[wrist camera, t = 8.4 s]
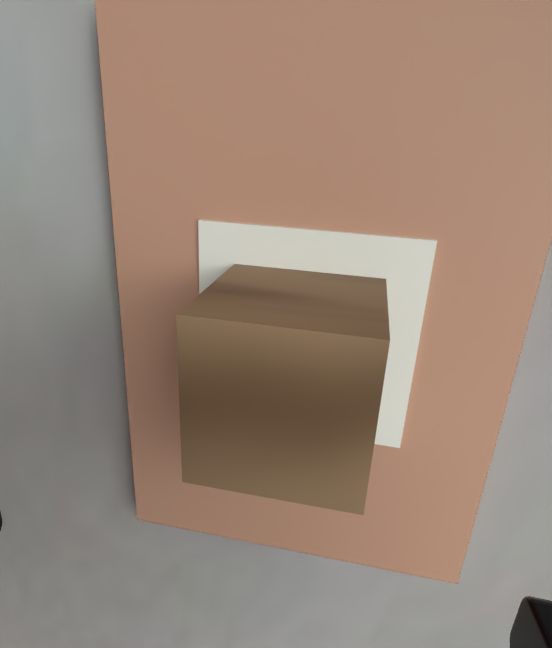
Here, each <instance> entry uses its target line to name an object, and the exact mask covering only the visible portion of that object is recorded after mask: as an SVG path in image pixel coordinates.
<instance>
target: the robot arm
mask: <svg viewBox="0 0 552 648" xmlns="http://www.w3.org/2000/svg"><path fill="white" fill-rule="evenodd" d="M1 527H2V516H1V512H0V530H1ZM510 648H552V601H550V600H545V599H540V598H535V597H530V596H527V597H525V598H524V599H523V600H522V602H521V604H520V607H519V610H518V613H517V615H516V618H515V621H514V624H513V627H512V630H511V633H510Z"/></svg>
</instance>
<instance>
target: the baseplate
mask: <svg viewBox="0 0 552 648" xmlns="http://www.w3.org/2000/svg"><path fill="white" fill-rule="evenodd" d="M95 9H96V21H97V33H98V46H99V58H100V70H101V83H102V95H103V107H104V119H105V132H106V144H107V156H108V168H109V181H110V193H111V205H112V217H113V230H114V242H115V254H116V266H117V279H118V291H119V303H120V315H121V328H122V340H123V352H124V365H125V377H126V389H127V401H128V414H129V426H130V438H131V450H132V463H133V475H134V487H135V499H136V512H137V519H138V520H143V521H148V522H153V523H158V524H163V525H168V526H173V527H178V528H183V529H188V530H193V531H198V532H202V533H207V534H212V535H217V536H222V537H227V538H232V539H237V540H242V541H247V542H252V543H257V544H262V545H267V546H272V547H277V548H282V549H287V550H292V551H297V552H302V553H306V554H311V555H316V556H321V557H326V558H331V559H336V560H341V561H346V562H351V563H356V564H361V565H366V566H371V567H376V568H381V569H386V570H391V571H396V572H401V573H406V574H410V575H415V576H420V577H425V578H430V579H435V580H440V581H445V582H450V583H455V584H458V581H459V577H460V573H461V570H462V566H463V562H464V559H465V555H466V551H467V548H468V544H469V540H470V537H471V533H472V529H473V526H474V522H475V518H476V515H477V511H478V507H479V504H480V500H481V496H482V492H483V489H484V485H485V481H486V478H487V474H488V470H489V467H490V463H491V459H492V456H493V452H494V448H495V445H496V441H497V437H498V434H499V430H500V426H501V423H502V419H503V415H504V412H505V408H506V404H507V401H508V397H509V393H510V390H511V386H512V382H513V379H514V375H515V371H516V368H517V364H518V360H519V357H520V353H521V349H522V345H523V342H524V338H525V334H526V331H527V327H528V323H529V320H530V316H531V312H532V309H533V305H534V301H535V298H536V294H537V290H538V287H539V283H540V279H541V276H542V272H543V268H544V265H545V261H546V257H547V254H548V250H549V246H550V243H551V239H552V0H95ZM234 264H242V265H252V266H262V267H272V268H282V269H292V270H302V271H312V272H322V273H332V274H343V275H353V276H363V277H373V278H383V279H386V285H387V300H388V315H389V331H390V344H389V351H388V358H387V364H386V371H385V377H384V384H383V390H382V397H381V404H380V410H379V417H378V423H377V430H376V436H375V443H374V449H373V456H372V463H371V469H370V476H369V482H368V489H367V495H366V502H365V508H364V515H359V514H353V513H348V512H342V511H337V510H332V509H326V508H321V507H315V506H310V505H304V504H299V503H293V502H288V501H282V500H277V499H272V498H266V497H261V496H255V495H250V494H244V493H239V492H233V491H228V490H222V489H217V488H212V487H206V486H201V485H195V484H190V483H184V482H182V467H181V438H180V410H179V381H178V353H177V324H176V314H177V313H178V312H180V311H181V310H182V309H183V308H184V307H185V306H186V305H188V304H189V303H190V302H191V301H192V300H193V299H195V298H196V297H197V296H198V295H199V294H200V293H201V292H203V291H204V290H205V289H206V288H207V287H208V286H210V285H211V284H212V283H213V282H214V281H215V280H216V279H218V278H219V277H220V276H221V275H222V274H223V273H224V272H226V271H227V270H228V269H229V268H230V267H231V266H233V265H234Z"/></svg>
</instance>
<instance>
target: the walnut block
mask: <svg viewBox="0 0 552 648" xmlns="http://www.w3.org/2000/svg"><path fill="white" fill-rule="evenodd" d="M176 324H177V353H178V381H179V410H180V438H181V467H182V482H184V483H190V484H195V485H201V486H206V487H212V488H217V489H222V490H228V491H233V492H239V493H244V494H250V495H255V496H261V497H266V498H272V499H277V500H282V501H288V502H293V503H299V504H304V505H310V506H315V507H321V508H326V509H332V510H337V511H342V512H348V513H353V514H359V515H364V508H365V502H366V495H367V489H368V482H369V476H370V469H371V463H372V456H373V449H374V443H375V436H376V430H377V423H378V417H379V410H380V404H381V397H382V390H383V384H384V377H385V371H386V364H387V358H388V351H389V344H390V331H389V315H388V300H387V285H386V279H383V278H373V277H363V276H353V275H343V274H332V273H322V272H312V271H302V270H292V269H282V268H272V267H262V266H252V265H242V264H234V265H233V266H231V267H230V268H229V269H228V270H227V271H226V272H224V273H223V274H222V275H221V276H220V277H219V278H218V279H216V280H215V281H214V282H213V283H212V284H211V285H210V286H208V287H207V288H206V289H205V290H204V291H203V292H201V293H200V294H199V295H198V296H197V297H196V298H195V299H193V300H192V301H191V302H190V303H189V304H188V305H186V306H185V307H184V308H183V309H182V310H181V311H180V312H178V313H177V314H176Z"/></svg>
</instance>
